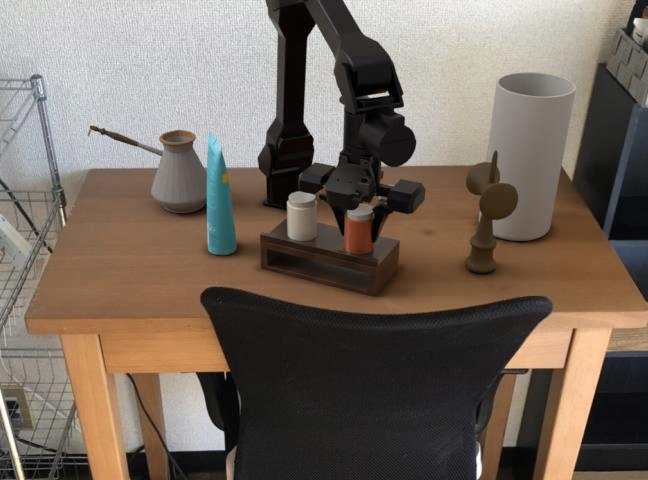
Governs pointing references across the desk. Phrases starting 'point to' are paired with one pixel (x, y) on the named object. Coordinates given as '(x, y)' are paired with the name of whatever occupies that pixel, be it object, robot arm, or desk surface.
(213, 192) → the tube
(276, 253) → the shelf
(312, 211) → the white lidded jar
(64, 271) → the desk surface
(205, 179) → the coffee pot
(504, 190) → the kendama
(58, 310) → the desk surface
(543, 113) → the cylinder vase
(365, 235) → the orange lidded jar
